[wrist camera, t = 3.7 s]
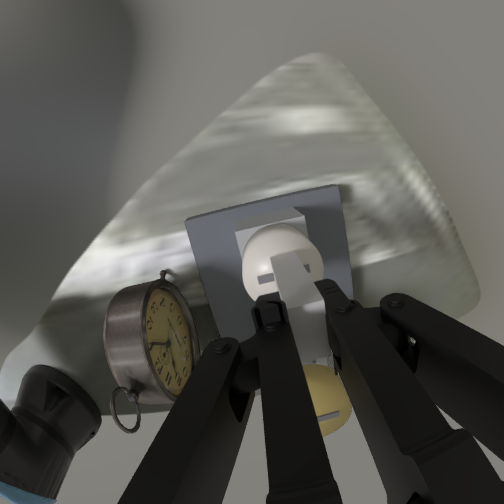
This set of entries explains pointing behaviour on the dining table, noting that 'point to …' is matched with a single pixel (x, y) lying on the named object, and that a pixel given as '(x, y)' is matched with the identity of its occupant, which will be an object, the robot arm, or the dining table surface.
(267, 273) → the knob ivory
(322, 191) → the mount
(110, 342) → the alarm clock
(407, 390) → the robot arm
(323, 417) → the knob mustard
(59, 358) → the dining table surface
